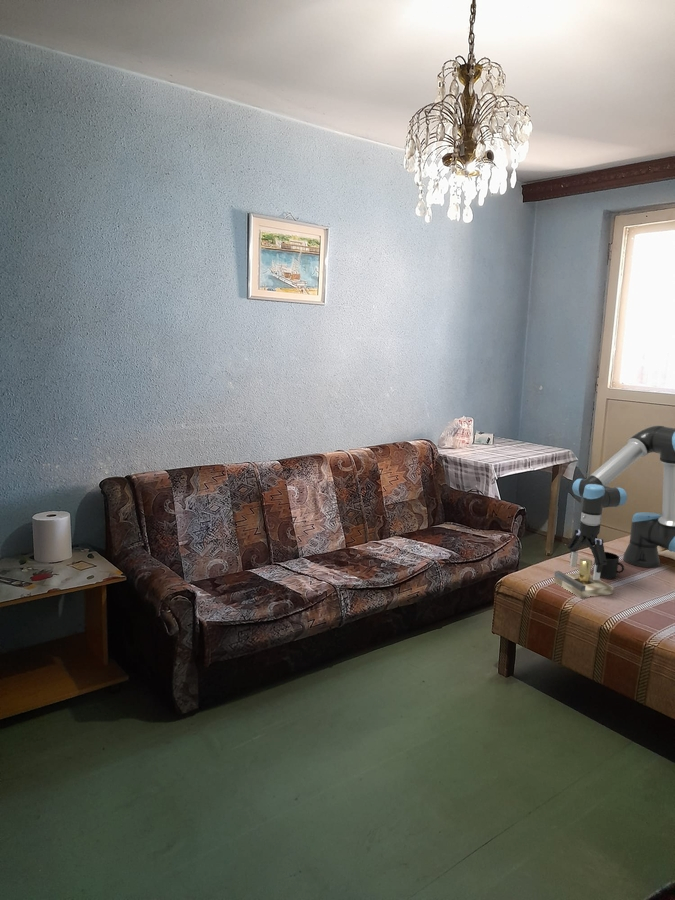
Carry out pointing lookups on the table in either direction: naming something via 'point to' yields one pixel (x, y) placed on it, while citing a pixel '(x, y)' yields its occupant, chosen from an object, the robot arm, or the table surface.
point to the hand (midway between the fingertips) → (584, 573)
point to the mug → (610, 566)
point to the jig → (579, 589)
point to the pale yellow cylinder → (584, 571)
